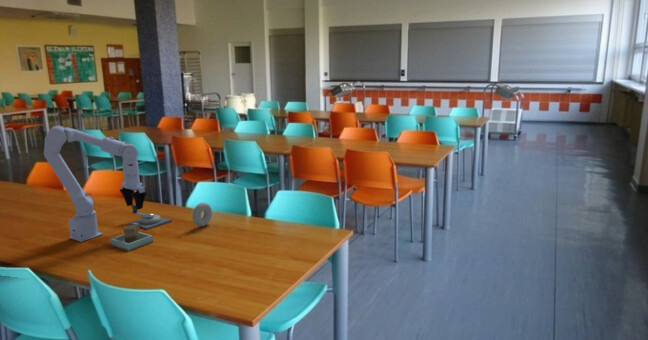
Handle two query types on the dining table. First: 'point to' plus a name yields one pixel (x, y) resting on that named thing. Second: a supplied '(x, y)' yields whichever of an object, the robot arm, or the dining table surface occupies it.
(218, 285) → the dining table surface
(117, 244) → the tray
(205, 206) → the donut
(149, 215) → the crank
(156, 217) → the crank base
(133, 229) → the block
